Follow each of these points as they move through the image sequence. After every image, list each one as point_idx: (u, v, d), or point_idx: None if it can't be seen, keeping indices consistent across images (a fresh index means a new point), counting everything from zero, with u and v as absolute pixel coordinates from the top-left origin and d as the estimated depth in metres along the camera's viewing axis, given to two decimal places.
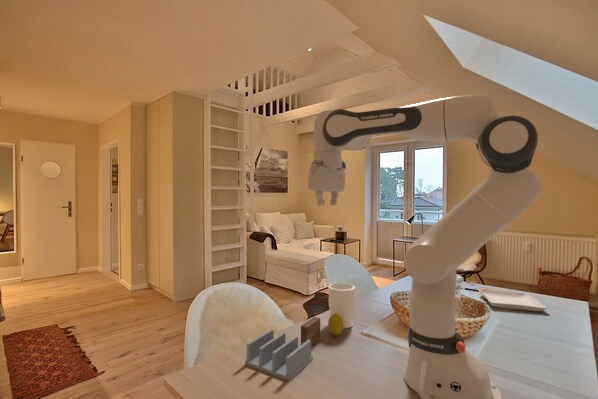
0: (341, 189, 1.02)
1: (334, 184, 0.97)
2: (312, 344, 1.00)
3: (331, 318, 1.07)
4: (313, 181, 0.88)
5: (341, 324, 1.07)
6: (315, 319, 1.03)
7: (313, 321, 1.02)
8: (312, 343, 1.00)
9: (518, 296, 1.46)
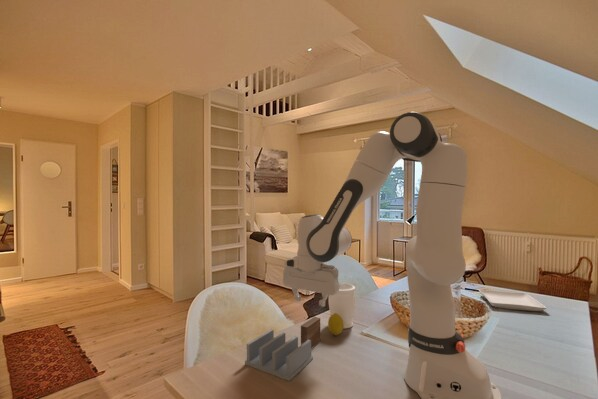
0: None
1: None
2: (312, 344, 1.00)
3: (331, 318, 1.07)
4: (337, 286, 0.96)
5: (341, 324, 1.07)
6: (315, 319, 1.03)
7: (312, 321, 1.02)
8: (312, 343, 1.00)
9: (517, 296, 1.46)
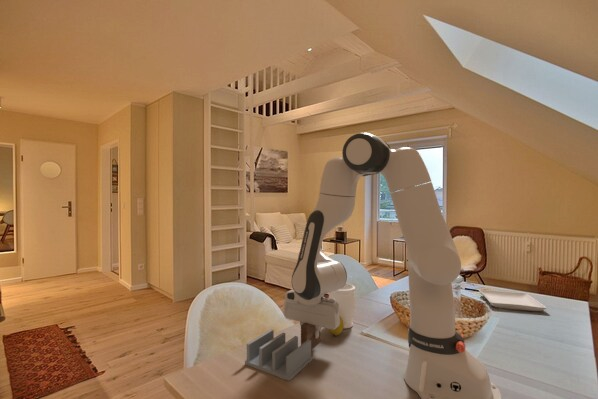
0: None
1: None
2: (312, 344, 1.00)
3: None
4: (338, 320, 0.96)
5: (341, 324, 1.07)
6: None
7: None
8: (312, 343, 1.00)
9: (517, 296, 1.46)
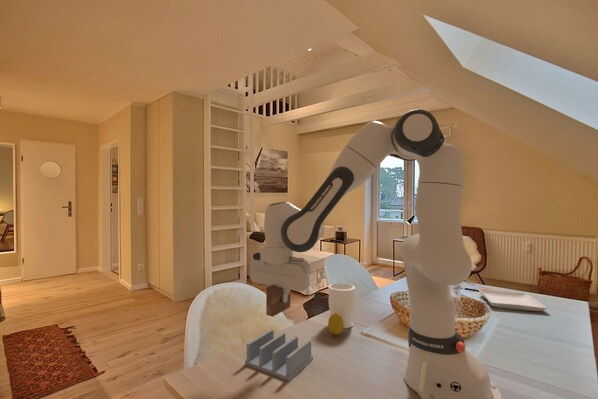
0: None
1: None
2: (279, 309, 0.90)
3: (331, 318, 1.07)
4: (307, 281, 0.86)
5: (341, 324, 1.07)
6: None
7: None
8: (279, 308, 0.90)
9: (517, 296, 1.46)
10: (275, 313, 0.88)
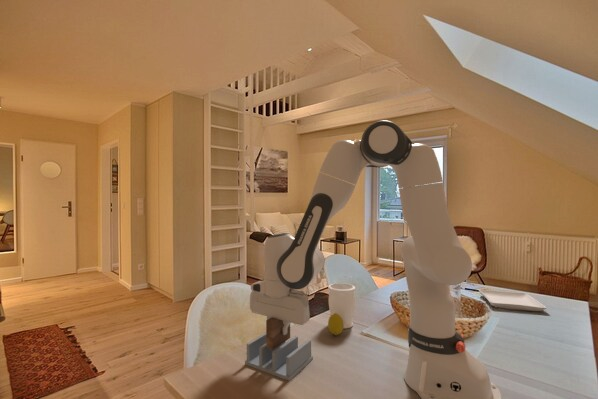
0: None
1: None
2: (279, 341, 0.89)
3: (331, 318, 1.07)
4: (307, 314, 0.86)
5: (341, 324, 1.07)
6: None
7: None
8: (279, 340, 0.89)
9: (517, 296, 1.46)
10: (275, 346, 0.88)
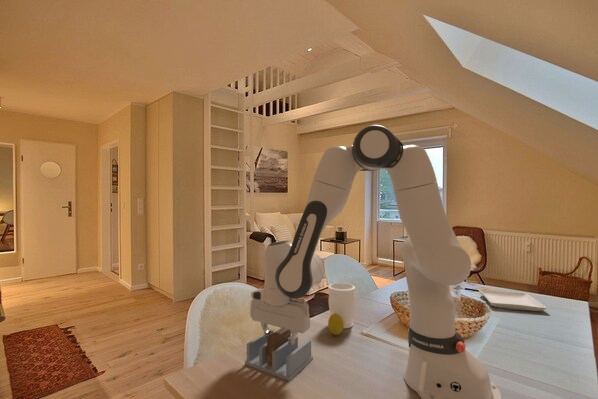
0: None
1: None
2: None
3: (331, 318, 1.07)
4: (307, 322, 0.86)
5: (341, 324, 1.07)
6: (285, 329, 0.93)
7: (281, 331, 0.91)
8: None
9: (517, 296, 1.46)
10: None
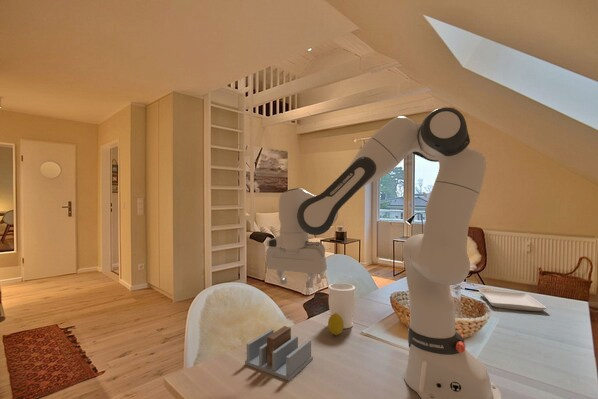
0: None
1: None
2: None
3: (331, 318, 1.07)
4: (324, 264, 0.88)
5: (341, 324, 1.07)
6: (285, 329, 0.93)
7: (281, 331, 0.91)
8: None
9: (517, 296, 1.46)
10: None
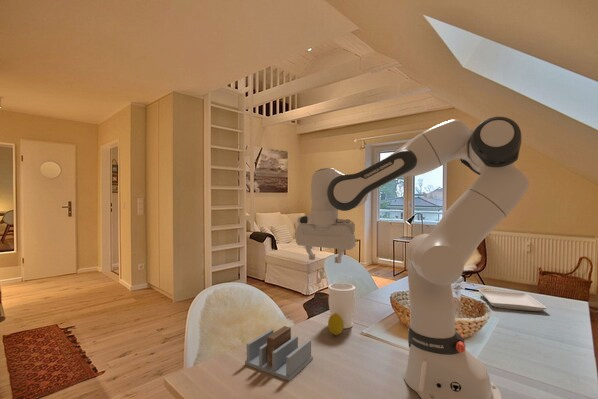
0: None
1: None
2: None
3: (331, 318, 1.07)
4: (353, 240, 0.92)
5: (341, 324, 1.07)
6: (285, 329, 0.93)
7: (281, 331, 0.91)
8: None
9: (517, 296, 1.46)
10: None
